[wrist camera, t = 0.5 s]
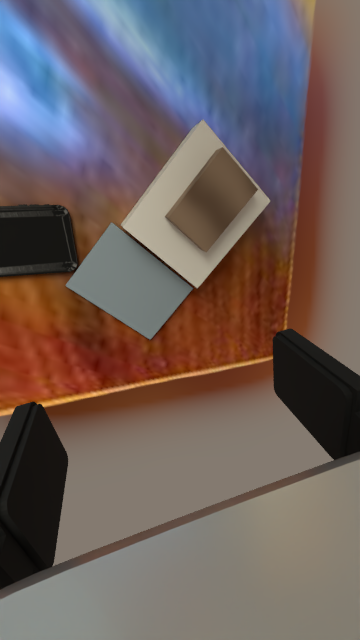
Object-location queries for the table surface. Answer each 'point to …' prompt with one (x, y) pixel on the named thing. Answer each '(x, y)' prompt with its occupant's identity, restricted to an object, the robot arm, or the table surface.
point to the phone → (36, 240)
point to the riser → (165, 192)
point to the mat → (129, 283)
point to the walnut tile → (212, 200)
